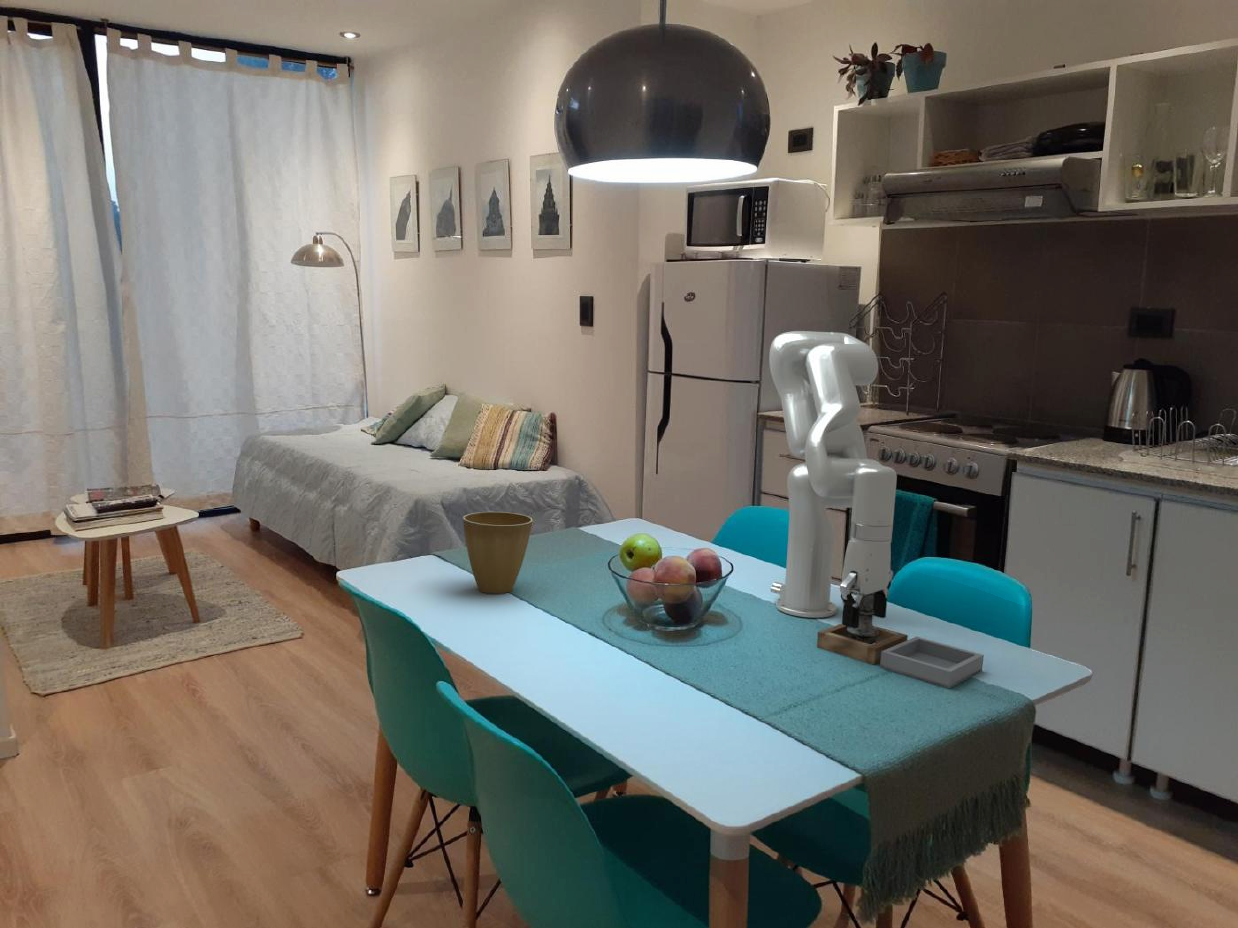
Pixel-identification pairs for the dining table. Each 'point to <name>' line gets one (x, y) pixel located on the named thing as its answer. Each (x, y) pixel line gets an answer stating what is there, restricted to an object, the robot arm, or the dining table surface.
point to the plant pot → (496, 548)
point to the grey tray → (932, 662)
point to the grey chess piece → (865, 622)
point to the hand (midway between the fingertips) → (864, 621)
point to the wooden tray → (858, 643)
